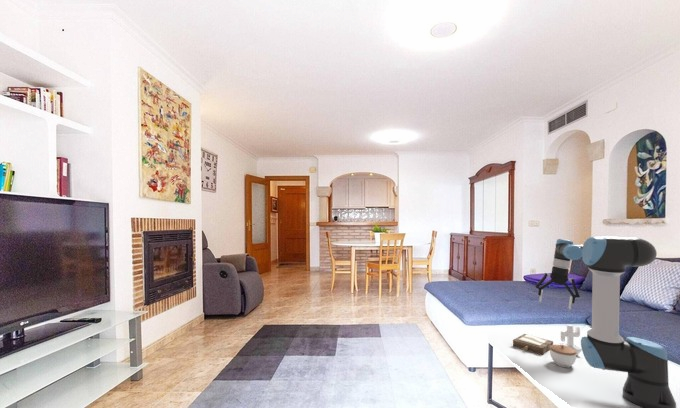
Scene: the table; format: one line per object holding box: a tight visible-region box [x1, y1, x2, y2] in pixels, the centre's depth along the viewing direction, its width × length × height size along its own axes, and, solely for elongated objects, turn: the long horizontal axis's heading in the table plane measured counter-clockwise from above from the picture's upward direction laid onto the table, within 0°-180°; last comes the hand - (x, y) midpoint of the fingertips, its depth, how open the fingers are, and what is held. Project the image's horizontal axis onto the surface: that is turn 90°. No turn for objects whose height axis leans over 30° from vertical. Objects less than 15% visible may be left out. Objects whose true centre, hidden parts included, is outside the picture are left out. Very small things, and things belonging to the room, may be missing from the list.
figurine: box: [559, 324, 582, 356], centre depth 172 cm, size 7×9×15 cm
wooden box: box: [512, 333, 554, 356], centre depth 179 cm, size 20×15×4 cm
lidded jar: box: [549, 344, 577, 368], centre depth 158 cm, size 11×11×9 cm
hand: (554, 305), depth 175 cm, fingers open, 13 cm apart
